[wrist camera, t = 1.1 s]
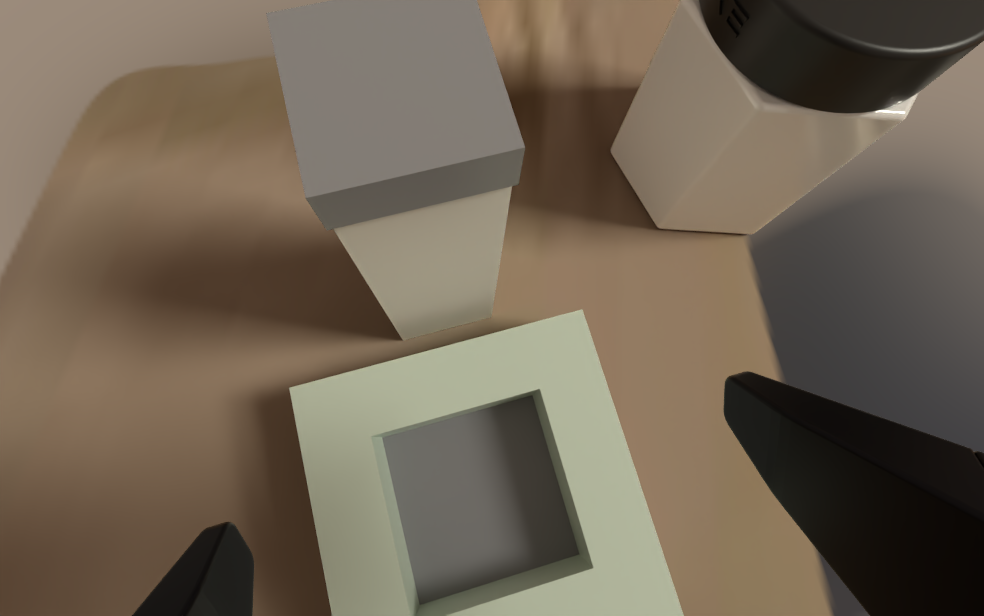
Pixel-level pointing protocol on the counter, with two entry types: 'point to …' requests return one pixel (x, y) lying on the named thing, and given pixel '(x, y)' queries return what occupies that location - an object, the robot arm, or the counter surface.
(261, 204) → the counter surface
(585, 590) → the socket
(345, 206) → the plug
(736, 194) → the jar
